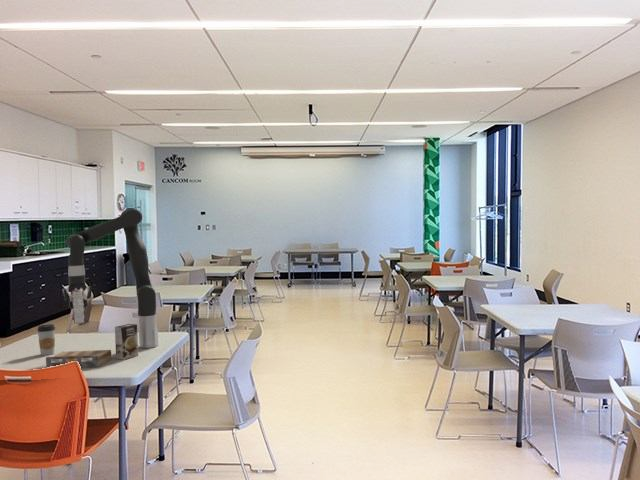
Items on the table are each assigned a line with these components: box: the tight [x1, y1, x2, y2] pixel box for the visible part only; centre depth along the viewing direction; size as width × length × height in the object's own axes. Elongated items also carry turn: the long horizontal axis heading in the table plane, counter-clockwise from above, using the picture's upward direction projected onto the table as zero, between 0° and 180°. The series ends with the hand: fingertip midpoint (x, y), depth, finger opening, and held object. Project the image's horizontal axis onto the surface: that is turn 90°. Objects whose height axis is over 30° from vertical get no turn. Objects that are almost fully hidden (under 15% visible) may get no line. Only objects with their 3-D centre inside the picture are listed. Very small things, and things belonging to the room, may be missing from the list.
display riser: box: [45, 349, 112, 369], centre depth 260 cm, size 24×18×6 cm
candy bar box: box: [72, 290, 86, 325], centre depth 268 cm, size 11×5×16 cm, turn 26°
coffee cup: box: [37, 323, 56, 357], centre depth 281 cm, size 8×8×15 cm
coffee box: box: [114, 323, 139, 361], centre depth 269 cm, size 9×6×16 cm
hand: (78, 307), depth 268 cm, fingers closed on candy bar box, 5 cm apart
